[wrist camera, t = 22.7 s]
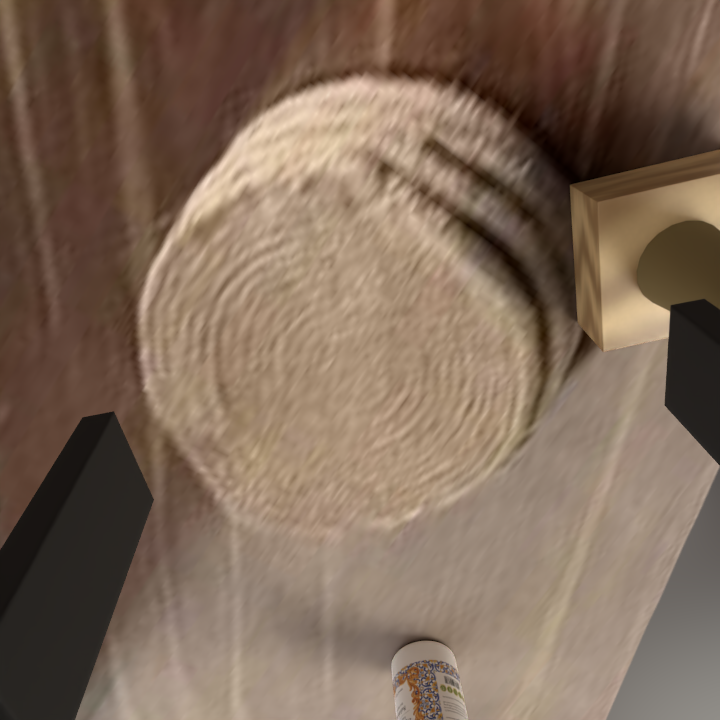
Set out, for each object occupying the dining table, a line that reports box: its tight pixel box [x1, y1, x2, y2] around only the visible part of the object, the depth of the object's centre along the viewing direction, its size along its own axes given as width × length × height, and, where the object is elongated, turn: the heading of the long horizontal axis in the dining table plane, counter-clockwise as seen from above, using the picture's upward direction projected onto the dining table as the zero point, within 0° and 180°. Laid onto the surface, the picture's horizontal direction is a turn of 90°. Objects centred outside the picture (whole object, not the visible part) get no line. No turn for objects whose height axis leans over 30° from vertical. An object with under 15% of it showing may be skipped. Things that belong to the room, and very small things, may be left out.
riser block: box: [570, 149, 720, 352], centre depth 43 cm, size 11×11×5 cm
